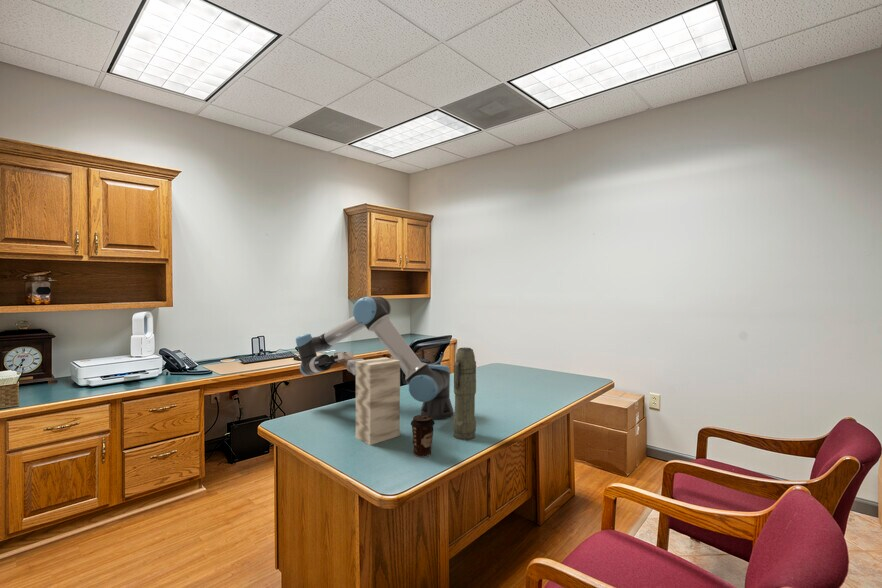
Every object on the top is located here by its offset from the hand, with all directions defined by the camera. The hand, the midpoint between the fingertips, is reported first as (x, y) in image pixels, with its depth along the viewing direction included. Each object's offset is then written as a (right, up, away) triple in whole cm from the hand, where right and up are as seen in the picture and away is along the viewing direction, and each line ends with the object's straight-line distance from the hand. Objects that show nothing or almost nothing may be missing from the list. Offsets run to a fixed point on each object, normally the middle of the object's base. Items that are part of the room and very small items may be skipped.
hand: (347, 354), depth 174 cm
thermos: (+49, -31, -11) cm, 59 cm away
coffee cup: (+33, -31, -28) cm, 53 cm away
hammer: (+1, -4, -1) cm, 5 cm away
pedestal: (+15, -31, -12) cm, 36 cm away
